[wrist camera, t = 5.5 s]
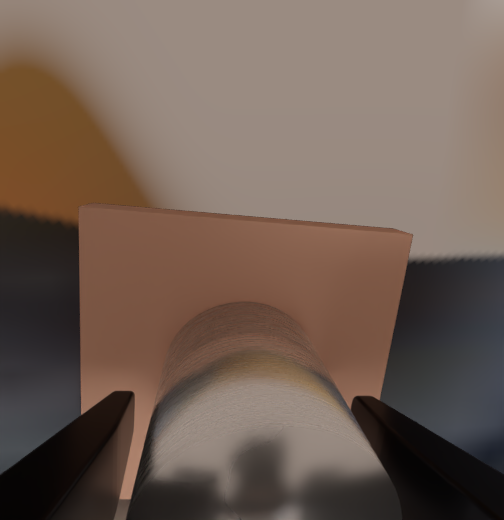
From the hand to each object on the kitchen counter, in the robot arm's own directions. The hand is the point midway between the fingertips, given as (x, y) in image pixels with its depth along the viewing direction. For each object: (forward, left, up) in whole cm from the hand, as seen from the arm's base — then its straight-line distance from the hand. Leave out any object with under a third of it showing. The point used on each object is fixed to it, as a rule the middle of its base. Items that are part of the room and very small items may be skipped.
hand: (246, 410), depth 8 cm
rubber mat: (0, 0, -2) cm, 2 cm away
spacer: (0, 0, -2) cm, 2 cm away
